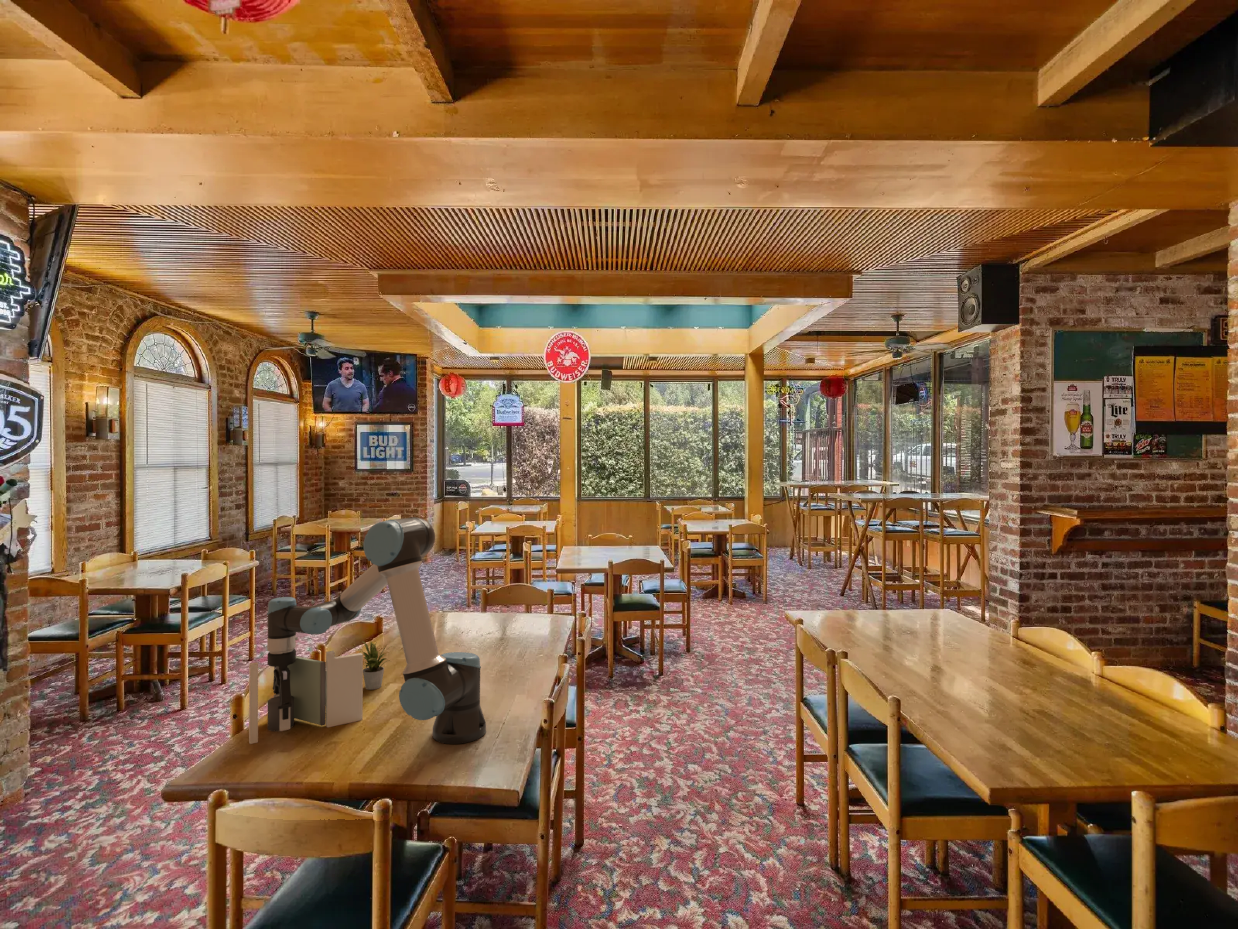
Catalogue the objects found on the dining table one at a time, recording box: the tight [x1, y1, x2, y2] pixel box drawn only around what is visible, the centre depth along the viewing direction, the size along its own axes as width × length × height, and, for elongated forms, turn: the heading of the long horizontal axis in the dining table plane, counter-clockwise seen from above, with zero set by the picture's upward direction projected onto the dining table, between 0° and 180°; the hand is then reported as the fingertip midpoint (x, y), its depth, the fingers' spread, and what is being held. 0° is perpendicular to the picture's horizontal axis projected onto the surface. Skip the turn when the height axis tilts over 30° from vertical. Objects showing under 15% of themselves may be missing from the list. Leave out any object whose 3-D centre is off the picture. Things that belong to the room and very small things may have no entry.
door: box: [287, 655, 326, 726], centre depth 193 cm, size 1×17×18 cm, turn 64°
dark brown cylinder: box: [267, 696, 295, 732], centre depth 191 cm, size 7×7×8 cm
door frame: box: [248, 650, 364, 745], centre depth 188 cm, size 2×30×22 cm, turn 125°
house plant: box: [350, 640, 393, 691], centre depth 224 cm, size 14×14×16 cm
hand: (281, 722), depth 190 cm, fingers open, 12 cm apart
